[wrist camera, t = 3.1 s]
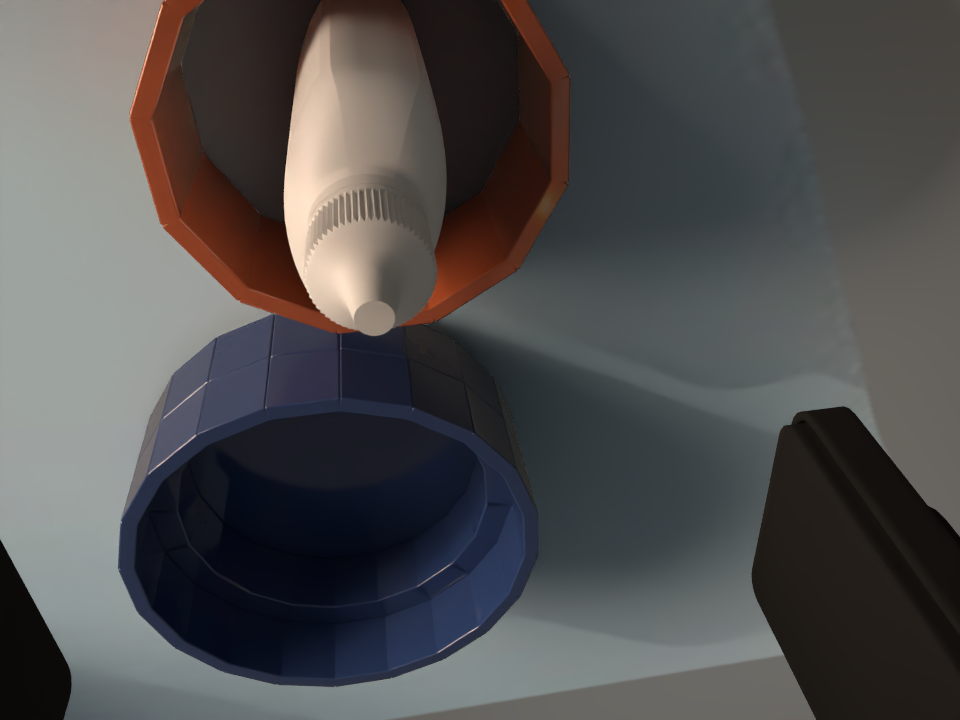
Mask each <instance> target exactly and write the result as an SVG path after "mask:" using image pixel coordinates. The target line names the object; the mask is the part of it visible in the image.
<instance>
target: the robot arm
mask: <svg viewBox="0 0 960 720" xmlns="http://www.w3.org/2000/svg"><path fill="white" fill-rule="evenodd" d="M752 584H753V589H754V593H755V596H756V599H757V601H758V603H759V605H760V607H761V609H762V611H763V613H764V615H765V617H766V619H767V621H768V623H769V625H770V627H771V629H772V631H773V633H774V635H775V637H776V639H777V641H778V643H779V645H780V647H781V649H782V651H783V653H784V655H785V658H786V660H787V662H788V663H789V666H790V668H791V670H792V672H793V674H794V675H795V678H796V680H797V682H798V684H799V686H800V688H801V690H802V692H803V694H804V696H805V698H806V700H807V702H808V704H809V706H810V708H811V710H812V712H813V714H814V716H815V718H816V720H960V537H959V535H958V534H957V533H956V532H955V530H954V529H953V528H952V527H951V525H950V524H949V523H948V522H947V520H946V519H945V518H944V517H943V516H942V515H940V513H939V512H937V510H935V509H933V508H931V507H929V506H928V505H927V504H926V503H925V502H924V500H923V499H922V498H921V497H920V495H919V494H918V493H917V491H916V490H915V489H914V488H913V486H912V485H911V484H910V483H909V481H908V480H907V479H906V478H905V476H904V475H903V474H902V473H901V471H900V470H899V469H898V467H897V466H896V465H895V464H894V462H893V461H892V460H891V459H890V457H889V456H888V455H887V454H886V452H885V451H884V450H883V449H882V447H881V446H880V445H879V444H878V442H877V441H876V440H875V438H874V437H873V436H872V435H871V433H870V432H869V431H868V430H867V428H866V427H865V426H864V425H863V423H862V422H861V421H860V420H859V418H858V417H857V416H856V414H855V413H854V412H853V411H851V410H850V409H849V408H847V407H844V406H843V407H835V408H827V409H819V410H811V411H803V412H799V413H797V414H796V415H795V416H794V418H793V421H792V424H791V425H786V426H783V428H782V429H781V431H780V434H779V438H778V443H777V448H776V453H775V458H774V463H773V468H772V473H771V478H770V483H769V488H768V493H767V498H766V503H765V508H764V513H763V518H762V523H761V527H760V532H759V537H758V542H757V547H756V552H755V557H754V562H753V567H752ZM71 685H72V684H71V673H70V669H69V666H68V664H67V662H66V660H65V658H64V656H63V654H62V653H61V651H60V649H59V647H58V645H57V643H56V641H55V640H54V638H53V636H52V634H51V632H50V630H49V629H48V627H47V625H46V623H45V621H44V619H43V618H42V616H41V614H40V612H39V610H38V608H37V606H36V605H35V603H34V601H33V599H32V597H31V595H30V594H29V592H28V590H27V588H26V586H25V584H24V582H23V581H22V579H21V577H20V575H19V573H18V571H17V570H16V568H15V566H14V564H13V562H12V560H11V558H10V557H9V555H8V553H7V551H6V549H5V547H4V546H3V544H2V542H1V540H0V720H63V719H64V716H65V712H66V709H67V706H68V702H69V699H70V694H71Z"/></svg>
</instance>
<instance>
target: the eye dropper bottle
mask: <svg viewBox="0 0 960 720" xmlns="http://www.w3.org/2000/svg"><path fill="white" fill-rule="evenodd" d="M446 184H447V177H446V158H445V149H444V143H443V136H442V130H441V125H440V120H439V116H438V112H437V108H436V104H435V100H434V96H433V93H432V89H431V85H430V82H429V78H428V75H427V71H426V68H425V64H424V61H423V57H422V54H421V51H420V47H419V44H418V41H417V37H416V34H415V31H414V27H413V24H412V21H411V19H410V16H409V13H408V10H407V9H406V8H405V6H404V5H403V3H402V2H401V1H400V0H321V1H320V3H319V5H318V7H317V8H316V10H315V13H314V15H313V17H312V19H311V21H310V24H309V27H308V29H307V32H306V35H305V38H304V41H303V44H302V48H301V52H300V57H299V62H298V67H297V75H296V83H295V91H294V100H293V108H292V117H291V125H290V134H289V142H288V151H287V160H286V169H285V183H284V213H285V224H286V230H287V236H288V241H289V245H290V249H291V253H292V256H293V259H294V262H295V265H296V268H297V270H298V273H299V275H300V277H301V280H302V282H303V284H304V286H305V288H306V289H307V292H308V293H309V297H310V298H311V299H312V303H314V304H315V305H316V308H318V309H319V310H320V312H321V313H323V314H325V317H328V318H330V320H331V321H334V322H336V324H340V325H341V326H342V327H347V328H348V329H354V330H359V331H361V332H362V333H364V334H366V335H370V336H378V335H382V334H385V333H386V332H388V331H389V330H390V329H391V328H395V327H396V326H401V324H403V323H406V322H407V321H408V320H411V319H412V317H415V316H417V313H419V312H421V309H422V308H424V307H426V305H425V304H426V303H428V302H429V298H431V297H432V293H433V292H434V291H435V290H434V287H435V286H436V280H437V275H436V274H437V273H438V272H437V263H436V258H435V253H434V251H435V248H436V245H437V242H438V239H439V235H440V231H441V227H442V223H443V217H444V211H445V202H446Z"/></svg>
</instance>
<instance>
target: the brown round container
mask: <svg viewBox="0 0 960 720" xmlns="http://www.w3.org/2000/svg"><path fill="white" fill-rule="evenodd" d="M204 1H205V0H164V1H163V2H162V3H161V6H160V10H159V13H158V17H157V20H156V23H155V27H154V30H153V34H152V37H151V41H150V44H149V48H148V51H147V54H146V58H145V61H144V65H143V68H142V72H141V75H140V78H139V82H138V85H137V89H136V92H135V96H134V99H133V102H132V106H131V109H130V113H129V114H130V123H131V126H132V130H133V133H134V136H135V140H136V143H137V147H138V150H139V153H140V157H141V160H142V163H143V167H144V170H145V174H146V177H147V180H148V184H149V187H150V190H151V194H152V197H153V201H154V204H155V207H156V211H157V214H158V217H159V221H160V223H161V224H162V225H163V228H164V229H165V230H166V231H167V232H168V233H169V234H170V235H171V236H172V237H173V238H174V239H175V240H176V241H177V242H178V243H179V244H180V245H181V246H182V247H183V248H184V249H185V250H186V251H187V252H188V253H189V254H190V255H191V256H192V257H193V258H194V259H195V260H196V261H197V262H198V263H200V264H201V265H202V266H203V267H204V268H205V269H206V270H207V271H208V272H209V273H210V274H211V275H212V276H213V277H214V278H215V279H216V280H217V281H218V282H219V283H220V284H221V285H222V286H223V287H224V288H225V289H226V290H227V291H228V292H229V293H230V294H231V295H232V296H233V297H234V298H235V299H236V300H240V302H241V303H244V304H247V305H250V306H253V307H256V308H259V309H262V310H265V311H268V312H271V313H274V314H277V315H280V316H283V317H286V318H289V319H292V320H295V321H298V322H301V323H304V324H307V325H310V326H313V327H316V328H319V329H322V330H325V331H328V332H331V333H336V332H337V333H338V334H343V333H351V332H360V331H359V330H354V329H348V328H347V327H342V326H341V325H340V324H336V322H334V321H331V320H330V318H328V317H325V314H323V313H321V312H320V310H319V309H318V308H316V305H315V304H314V303H312V299H311V298H310V297H309V293H308V292H307V289H306V288H305V286H304V284H303V282H302V280H301V277H300V275H299V273H298V270H297V268H296V265H295V262H294V259H293V256H292V253H291V249H290V245H289V241H288V236H287V230H286V224H284V223H282V222H279V221H276V220H274V219H271V218H268V217H266V216H263V215H261V214H260V213H259V212H258V211H257V210H256V209H255V208H254V207H253V206H252V205H251V203H250V202H249V201H248V200H247V199H246V198H245V197H244V196H243V195H242V194H241V193H240V191H239V190H238V189H237V188H236V187H235V186H234V185H233V184H232V183H231V182H230V181H229V180H228V178H227V177H226V176H225V175H224V174H223V173H222V172H221V171H220V170H219V169H218V168H217V167H216V165H215V164H214V163H213V162H212V161H211V160H210V159H209V158H208V157H207V156H206V155H205V153H204V152H203V151H202V147H201V143H200V139H199V135H198V131H197V127H196V123H195V119H194V115H193V111H192V107H191V103H190V99H189V95H188V91H187V87H186V83H185V79H184V75H183V71H182V67H181V62H182V59H183V55H184V52H185V49H186V46H187V43H188V39H189V36H190V33H191V30H192V27H193V23H194V20H195V17H196V14H197V11H198V8H199V5H200V4H201V3H203V2H204ZM497 1H498V3H499V4H500V6H501V8H502V9H503V11H504V13H505V14H506V16H507V18H508V19H509V21H510V23H511V24H512V26H513V28H514V29H515V31H516V33H517V37H518V83H519V122H518V124H517V126H516V128H515V129H514V131H513V133H512V135H511V137H510V139H509V141H508V143H507V145H506V146H505V148H504V150H503V152H502V154H501V156H500V158H499V160H498V161H497V163H496V165H495V167H494V169H493V171H492V173H491V175H490V177H489V178H488V180H487V182H486V184H485V186H484V188H483V190H482V192H480V193H479V194H477V195H476V196H474V197H473V198H471V199H470V200H468V201H467V202H465V203H464V204H462V205H461V206H459V207H458V208H456V209H455V210H453V211H452V212H450V213H449V214H447V215H446V216H444V217H443V223H442V227H441V231H440V235H439V239H438V242H437V245H436V248H435V251H434V253H435V258H436V263H437V272H438V273H437V274H436V275H437V280H436V286H435V287H434V290H435V291H434V292H433V293H432V297H431V298H429V302H428V303H426V304H425V305H426V307H424V308H422V309H421V312H419V313H417V316H415V317H412V319H411V320H408V321H407V322H406V323H403V324H401V326H396V327H402V326H411V325H419V324H428V323H434V321H439V320H440V319H442V318H443V317H445V316H447V315H448V314H450V313H451V312H453V311H454V310H456V309H458V308H459V307H461V306H462V305H464V304H465V303H467V302H469V301H470V300H472V299H473V298H475V297H477V296H478V295H480V294H481V293H483V292H484V291H486V290H488V289H489V288H491V287H492V286H494V285H495V284H497V283H499V282H500V281H502V280H503V279H505V278H507V277H508V276H510V275H511V274H513V273H514V272H516V271H517V269H519V268H520V266H521V265H522V263H523V261H524V260H525V258H526V256H527V254H528V253H529V251H530V249H531V248H532V246H533V244H534V242H535V241H536V239H537V237H538V236H539V234H540V232H541V230H542V229H543V227H544V225H545V224H546V222H547V220H548V218H549V217H550V215H551V213H552V212H553V210H554V208H555V206H556V205H557V203H558V201H559V200H560V198H561V196H562V194H563V193H564V191H565V189H566V188H567V186H568V183H567V182H569V157H570V85H571V78H570V76H569V71H568V69H567V68H566V66H565V64H564V62H563V61H562V59H561V57H560V56H559V54H558V52H557V50H556V49H555V47H554V45H553V43H552V42H551V40H550V38H549V37H548V35H547V33H546V31H545V30H544V28H543V26H542V24H541V23H540V21H539V19H538V17H537V16H536V14H535V12H534V11H533V9H532V7H531V5H530V4H529V2H528V0H497Z"/></svg>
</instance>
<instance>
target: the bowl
mask: <svg viewBox="0 0 960 720" xmlns="http://www.w3.org/2000/svg"><path fill="white" fill-rule="evenodd" d="M537 557H538V510H537V506H536V503H535V499H534V495H533V492H532V488H531V484H530V481H529V477H528V473H527V470H526V466H525V462H524V459H523V455H522V451H521V448H520V444H519V440H518V437H517V433H516V429H515V425H514V422H513V418H512V415H511V413H510V411H509V408H508V406H507V404H506V402H505V400H504V398H503V396H502V394H501V392H500V389H499V387H498V385H497V383H496V381H495V379H494V377H493V376H492V375H491V374H490V373H489V372H488V371H487V370H486V369H485V368H484V367H483V366H482V365H481V364H480V363H479V362H478V361H477V360H476V359H475V358H473V357H472V356H471V355H470V354H469V353H468V352H467V351H466V350H465V349H464V348H463V347H462V346H461V345H460V344H459V343H457V342H456V341H454V340H453V339H452V338H449V337H447V336H445V335H443V334H441V333H439V332H437V331H434V330H432V329H430V328H428V327H426V326H424V325H421V324H419V325H411V326H402V327H395V328H391V329H390V330H389V331H388V332H386V333H385V334H382V335H378V336H370V335H366V334H364V333H362V332H361V331H360V332H351V333H343V334H338V333H337V332H336V333H331V332H328V331H325V330H322V329H319V328H316V327H313V326H310V325H307V324H304V323H301V322H298V321H295V320H292V319H289V318H286V317H283V316H280V315H277V314H275V315H274V314H272V315H270V316H267V317H265V318H262V319H260V320H257V321H255V322H253V323H250V324H248V325H245V326H243V327H240V328H238V329H236V330H233V331H231V332H228V333H226V334H223V335H221V336H219V337H218V338H215V339H214V340H213V341H211V342H210V343H209V344H208V345H207V346H205V347H204V348H203V349H202V350H201V351H200V352H198V353H197V354H196V355H195V356H194V357H192V358H191V359H190V360H189V361H188V362H187V363H185V364H184V365H183V366H182V367H181V368H179V369H178V370H177V371H176V372H175V373H174V375H172V377H171V379H170V381H169V382H168V384H167V386H166V388H165V390H164V392H163V393H162V395H161V397H160V399H159V401H158V403H157V405H156V406H155V408H154V410H153V412H152V414H151V416H150V418H149V422H148V425H147V429H146V432H145V436H144V440H143V443H142V447H141V450H140V454H139V457H138V461H137V465H136V468H135V472H134V475H133V479H132V482H131V486H130V489H129V493H128V497H127V500H126V504H125V507H124V511H123V514H122V518H121V522H120V539H119V559H118V569H119V572H120V575H121V577H122V579H123V581H124V584H125V586H126V588H127V590H128V592H129V595H130V597H131V599H132V601H133V604H134V606H135V608H136V610H137V612H138V613H139V615H140V616H141V617H143V618H144V619H145V620H146V621H147V622H148V623H149V624H150V625H151V626H152V627H153V628H154V629H155V630H156V631H157V632H158V633H159V634H160V635H161V636H162V637H163V638H164V639H166V640H167V641H168V642H169V643H170V644H171V645H172V646H173V647H175V648H176V649H178V650H180V651H182V652H184V653H186V654H188V655H190V656H192V657H194V658H196V659H198V660H200V661H202V662H204V663H206V664H208V665H210V666H212V667H214V668H216V669H218V670H220V671H223V672H225V673H229V674H234V675H238V676H242V677H246V678H250V679H255V680H259V681H263V682H267V683H271V684H278V685H295V686H323V687H335V686H336V687H338V686H344V685H351V684H357V683H364V682H370V681H377V680H384V679H390V678H391V677H392V678H394V677H397V676H399V675H402V674H405V673H408V672H411V671H413V670H416V669H419V668H422V667H425V666H427V665H430V664H433V663H436V662H438V661H441V660H443V659H446V658H447V657H449V656H450V655H452V654H454V653H455V652H457V651H458V650H460V649H461V648H463V647H465V646H466V645H468V644H469V643H471V642H473V641H474V640H476V639H477V638H479V637H481V636H482V635H484V634H485V633H487V631H489V630H490V629H491V628H492V627H493V626H494V625H495V624H496V623H497V622H498V620H499V619H500V618H501V617H502V616H503V615H504V614H505V613H506V612H507V611H508V610H509V609H510V607H511V606H512V605H513V604H514V603H515V602H516V601H517V600H518V599H519V598H520V596H521V594H522V592H523V590H524V587H525V585H526V583H527V580H528V578H529V576H530V573H531V571H532V569H533V566H534V564H535V562H536V560H537Z"/></svg>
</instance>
